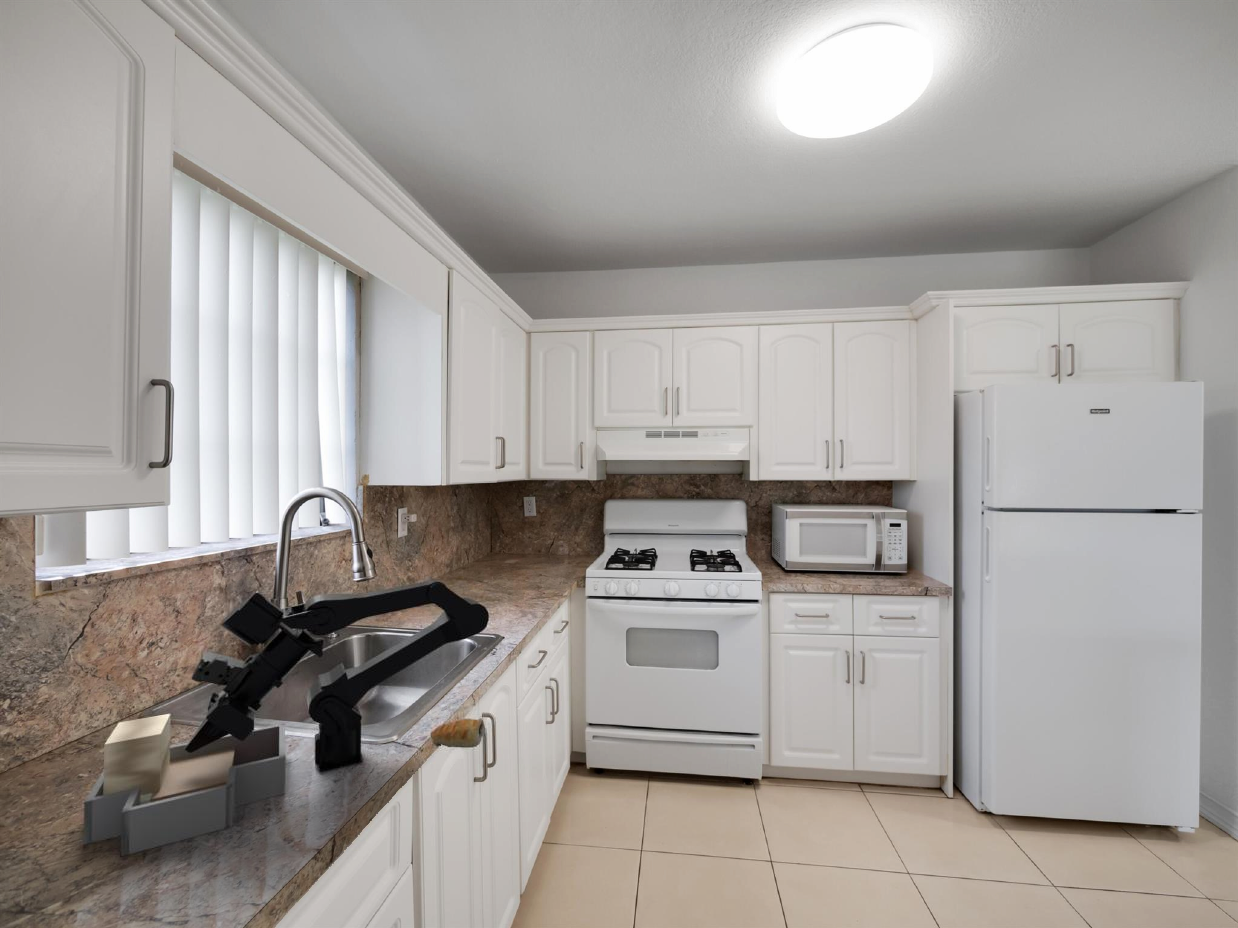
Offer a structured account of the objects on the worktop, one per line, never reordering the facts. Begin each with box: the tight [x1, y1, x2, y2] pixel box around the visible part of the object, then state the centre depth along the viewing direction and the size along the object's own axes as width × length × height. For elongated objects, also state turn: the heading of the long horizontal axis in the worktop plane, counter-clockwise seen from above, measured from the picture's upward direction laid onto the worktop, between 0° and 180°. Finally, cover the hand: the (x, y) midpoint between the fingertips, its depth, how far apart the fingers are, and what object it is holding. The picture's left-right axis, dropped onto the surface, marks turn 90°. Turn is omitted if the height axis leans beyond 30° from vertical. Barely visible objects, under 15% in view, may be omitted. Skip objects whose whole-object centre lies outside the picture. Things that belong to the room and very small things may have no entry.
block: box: [103, 713, 171, 795], centre depth 81 cm, size 6×8×8 cm
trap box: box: [83, 722, 286, 857], centre depth 82 cm, size 22×19×6 cm
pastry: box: [429, 717, 486, 749], centre depth 101 cm, size 9×7×4 cm
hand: (187, 750), depth 83 cm, fingers closed
